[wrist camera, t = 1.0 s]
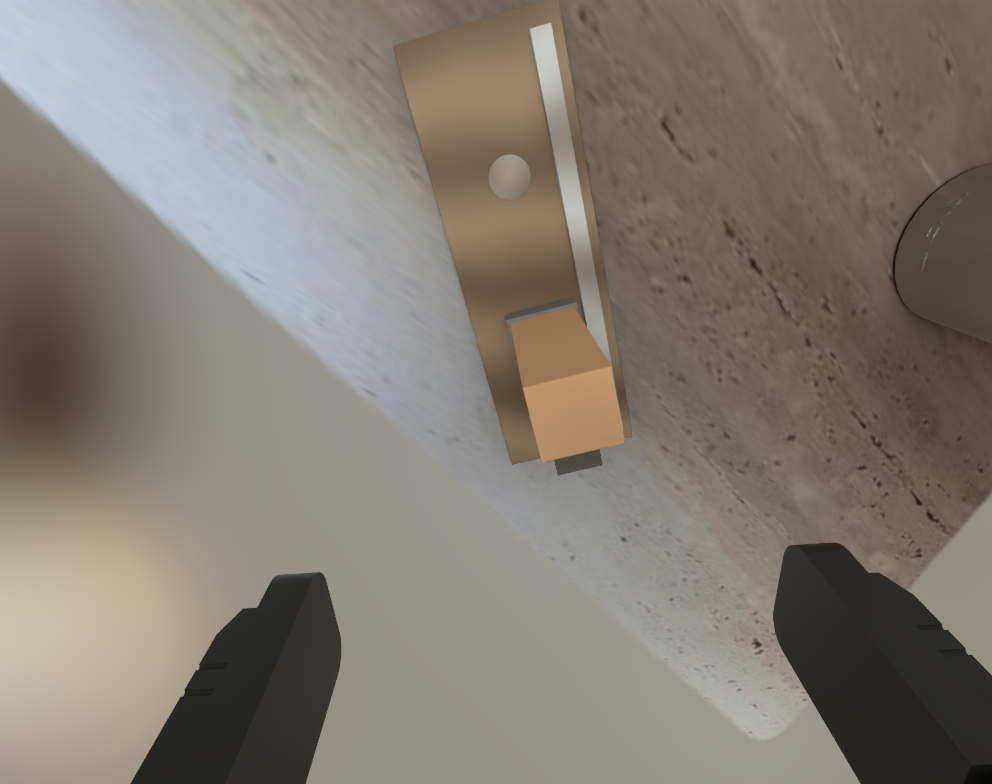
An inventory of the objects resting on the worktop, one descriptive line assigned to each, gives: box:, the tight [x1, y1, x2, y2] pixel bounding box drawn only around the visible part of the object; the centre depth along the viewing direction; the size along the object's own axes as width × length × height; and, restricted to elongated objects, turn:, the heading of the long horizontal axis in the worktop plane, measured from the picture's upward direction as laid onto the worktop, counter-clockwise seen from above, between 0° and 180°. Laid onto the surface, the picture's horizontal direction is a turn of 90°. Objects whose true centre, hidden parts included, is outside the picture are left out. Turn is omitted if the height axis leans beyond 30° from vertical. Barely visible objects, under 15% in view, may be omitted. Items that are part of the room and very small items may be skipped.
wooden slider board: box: [393, 0, 632, 475], centre depth 28 cm, size 24×8×6 cm, turn 14°
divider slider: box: [505, 298, 625, 462], centre depth 26 cm, size 4×4×10 cm
